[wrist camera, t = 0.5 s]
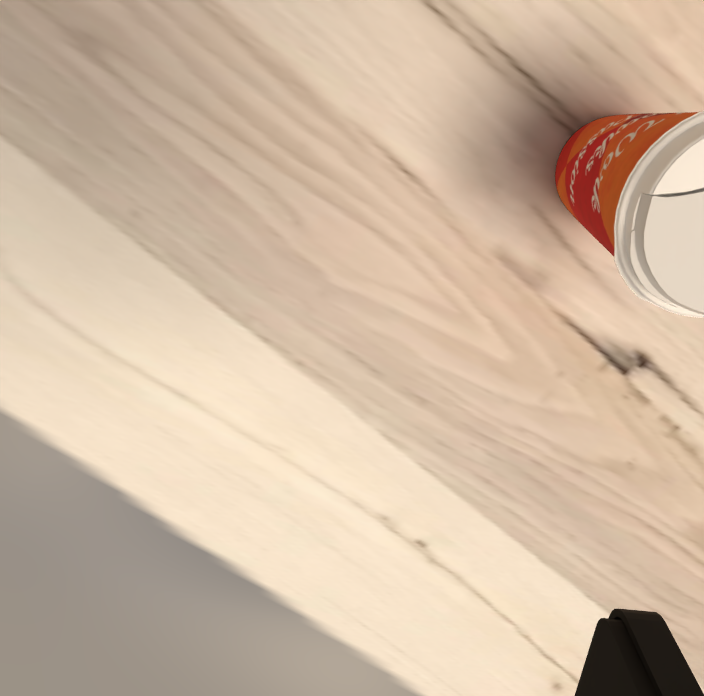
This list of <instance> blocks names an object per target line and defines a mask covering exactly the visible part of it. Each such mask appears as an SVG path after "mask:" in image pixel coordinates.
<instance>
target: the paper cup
mask: <svg viewBox="0 0 704 696" xmlns="http://www.w3.org/2000/svg"><path fill="white" fill-rule="evenodd" d="M555 181H556V187H557V191H558V194H559V196H560V198H561V200H562V202H563V204H564V205H565V206H566V208H567V209H568V210H569V211H570V212H571V214H572V215H573V216H574V217H575V218H576V219H577V220H578V221H579V222H580V223H581V224H582V225H583V226H584V227H585V228H586V229H587V230H588V231H589V232H590V233H591V234H592V235H593V236H594V237H595V238H596V239H597V240H598V241H599V242H600V243H601V244H602V245H603V246H604V247H605V248H606V249H607V250H608V251H609V252H610V253H611V254H612V255H613V256H614V261H615V264H616V266H617V268H618V271H619V273H620V275H621V277H622V278H623V280H624V281H625V283H626V285H627V286H628V287H629V288H630V289H631V291H632V292H633V293H634V294H635V295H636V296H637V297H638V298H640V299H642V300H645V301H647V302H649V303H651V304H654V305H656V306H658V307H660V308H662V309H664V310H666V311H668V312H672V313H675V314H678V315H682V316H689V317H697V318H699V317H704V111H701V112H694V113H654V114H628V115H615V116H608V117H603V118H600V119H597V120H594V121H592V122H590V123H588V124H586V125H585V126H583V127H582V128H580V129H579V130H578V131H577V132H575V133H574V134H573V135H572V136H571V138H570V139H569V140H568V141H567V143H566V144H565V146H564V147H563V149H562V151H561V153H560V155H559V158H558V161H557V165H556V172H555Z"/></svg>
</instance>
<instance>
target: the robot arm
mask: <svg viewBox="0 0 704 696" xmlns="http://www.w3.org/2000/svg"><path fill="white" fill-rule="evenodd" d="M575 696H704V694H703V692H702V690H701V688H700V686H699V684H698V683H697V681H696V679H695V677H694V675H693V673H692V671H691V669H690V668H689V666H688V664H687V662H686V660H685V658H684V656H683V654H682V653H681V651H680V649H679V647H678V645H677V643H676V641H675V639H674V638H673V636H672V634H671V632H670V630H669V628H668V626H667V624H666V622H665V621H664V619H663V618H662V617H661V615H659V614H658V613H656V612H648V611H637V610H626V609H614V610H613V611H612V612H611V614H610V616H609V619H606V618H601V619H600V620H599V621H598V623H597V626H596V629H595V632H594V635H593V638H592V642H591V645H590V648H589V651H588V655H587V658H586V661H585V664H584V667H583V671H582V674H581V677H580V680H579V683H578V687H577V690H576V693H575Z"/></svg>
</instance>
